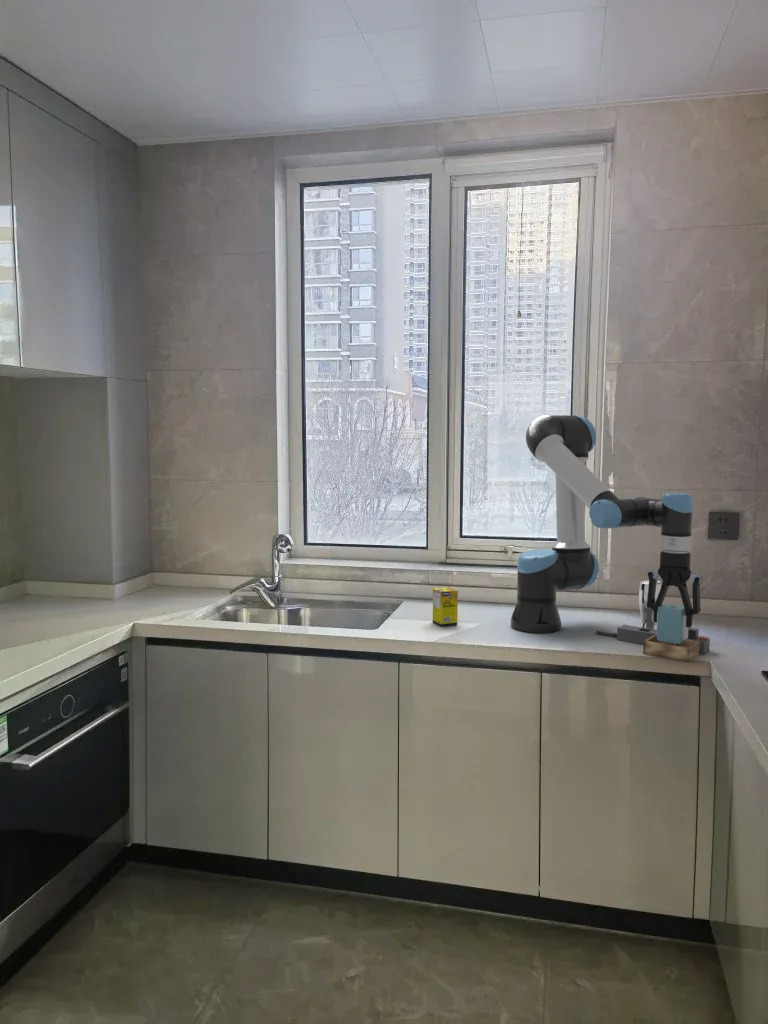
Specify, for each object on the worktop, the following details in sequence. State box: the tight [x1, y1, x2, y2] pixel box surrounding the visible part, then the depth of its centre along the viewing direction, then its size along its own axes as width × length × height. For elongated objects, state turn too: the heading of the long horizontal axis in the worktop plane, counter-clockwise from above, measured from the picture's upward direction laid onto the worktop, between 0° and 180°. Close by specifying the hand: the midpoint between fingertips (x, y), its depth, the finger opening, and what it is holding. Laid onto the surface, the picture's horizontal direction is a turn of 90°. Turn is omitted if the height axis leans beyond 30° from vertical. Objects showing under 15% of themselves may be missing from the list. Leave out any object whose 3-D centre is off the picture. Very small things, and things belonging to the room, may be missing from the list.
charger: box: [657, 602, 687, 646], centre depth 205 cm, size 6×6×12 cm
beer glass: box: [638, 579, 664, 630], centre depth 229 cm, size 7×7×15 cm
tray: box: [642, 635, 701, 663], centre depth 205 cm, size 12×9×4 cm
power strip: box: [595, 624, 711, 656], centre depth 216 cm, size 32×5×6 cm, turn 52°
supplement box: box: [432, 587, 459, 627], centre depth 238 cm, size 6×6×11 cm
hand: (672, 636), depth 205 cm, fingers closed on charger, 6 cm apart
